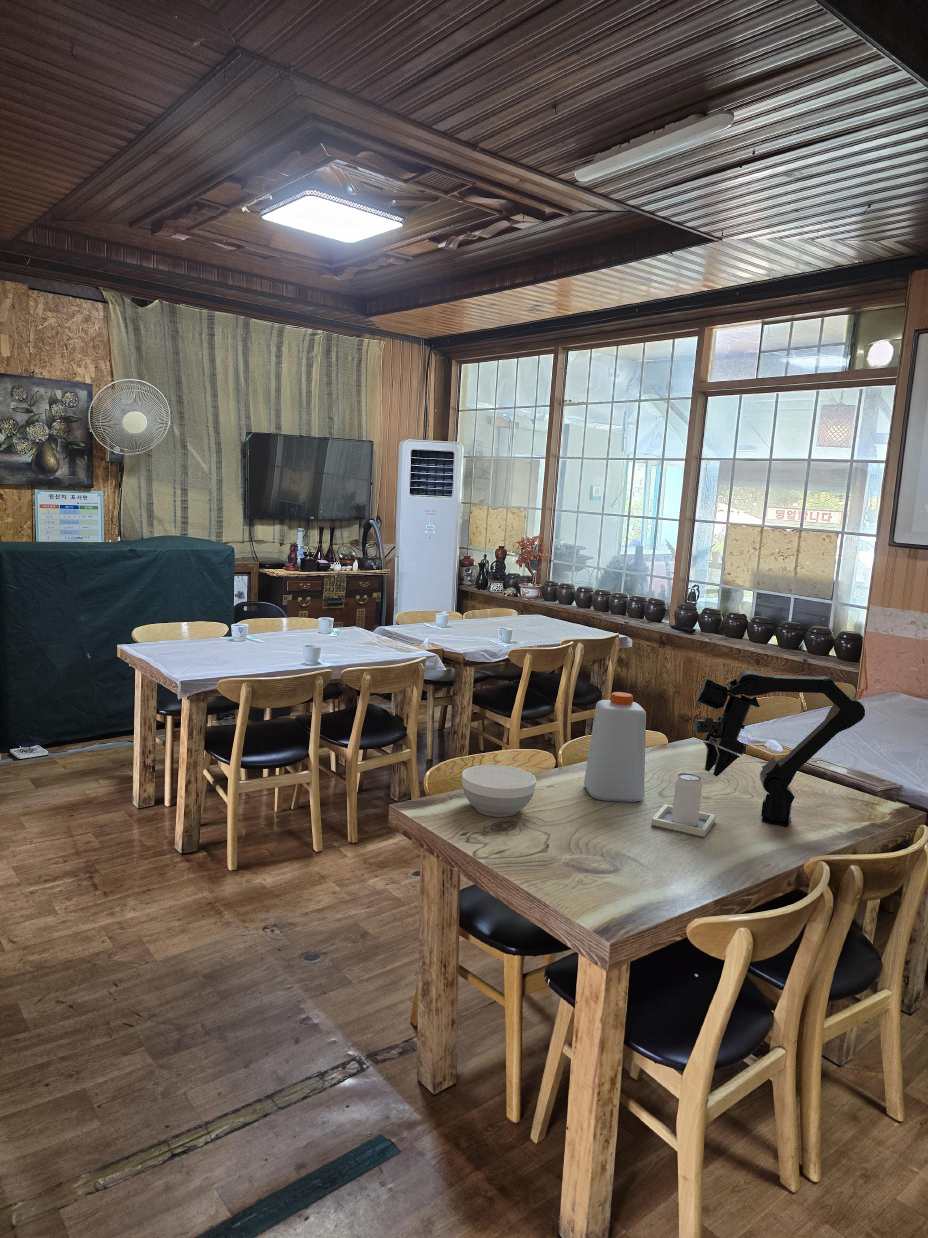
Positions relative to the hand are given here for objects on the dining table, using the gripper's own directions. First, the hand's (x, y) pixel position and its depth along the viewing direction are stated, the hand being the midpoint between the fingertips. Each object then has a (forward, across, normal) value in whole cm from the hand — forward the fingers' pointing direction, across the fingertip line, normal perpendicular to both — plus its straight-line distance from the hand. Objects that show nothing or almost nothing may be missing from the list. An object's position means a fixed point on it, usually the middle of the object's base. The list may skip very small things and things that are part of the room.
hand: (710, 773), depth 217 cm
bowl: (+30, +5, -47) cm, 56 cm away
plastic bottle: (+16, -15, -18) cm, 28 cm away
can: (+14, +5, -3) cm, 15 cm away
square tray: (+14, +5, -3) cm, 15 cm away
